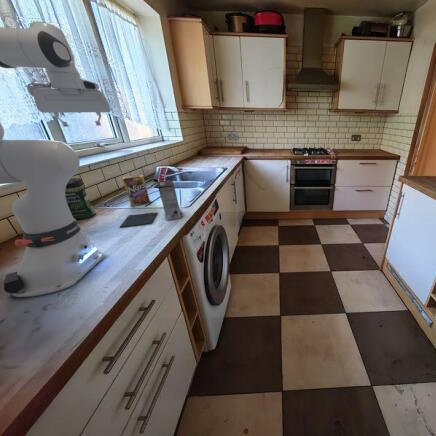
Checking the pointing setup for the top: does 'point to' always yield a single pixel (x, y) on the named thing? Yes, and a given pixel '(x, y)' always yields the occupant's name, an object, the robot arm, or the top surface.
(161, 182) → the coffee box
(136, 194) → the candy box
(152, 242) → the top surface
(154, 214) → the mat
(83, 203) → the dark green food bag
